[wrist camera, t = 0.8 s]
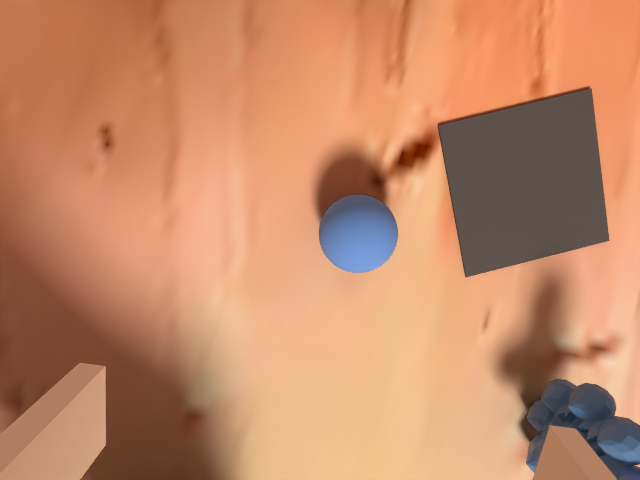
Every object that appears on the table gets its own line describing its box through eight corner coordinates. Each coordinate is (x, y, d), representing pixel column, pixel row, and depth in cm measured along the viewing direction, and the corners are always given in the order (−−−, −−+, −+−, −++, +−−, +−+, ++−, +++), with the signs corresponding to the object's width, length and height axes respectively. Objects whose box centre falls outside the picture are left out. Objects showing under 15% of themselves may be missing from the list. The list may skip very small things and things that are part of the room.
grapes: (487, 349, 34) (593, 443, 22) (565, 343, 35) (709, 431, 23) (485, 475, 36) (581, 622, 24) (559, 467, 36) (689, 608, 25)
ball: (325, 271, 32) (333, 290, 27) (308, 202, 31) (312, 208, 26) (393, 253, 32) (415, 270, 27) (379, 184, 31) (398, 187, 26)
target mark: (465, 276, 33) (466, 277, 33) (437, 125, 31) (438, 125, 31) (607, 240, 33) (609, 240, 33) (589, 89, 31) (591, 88, 31)
